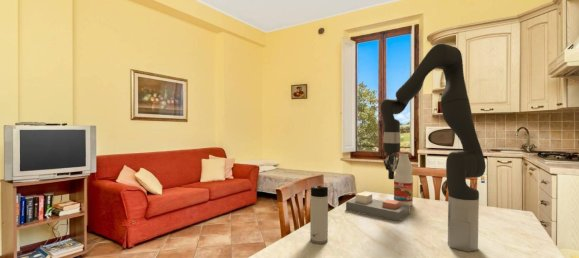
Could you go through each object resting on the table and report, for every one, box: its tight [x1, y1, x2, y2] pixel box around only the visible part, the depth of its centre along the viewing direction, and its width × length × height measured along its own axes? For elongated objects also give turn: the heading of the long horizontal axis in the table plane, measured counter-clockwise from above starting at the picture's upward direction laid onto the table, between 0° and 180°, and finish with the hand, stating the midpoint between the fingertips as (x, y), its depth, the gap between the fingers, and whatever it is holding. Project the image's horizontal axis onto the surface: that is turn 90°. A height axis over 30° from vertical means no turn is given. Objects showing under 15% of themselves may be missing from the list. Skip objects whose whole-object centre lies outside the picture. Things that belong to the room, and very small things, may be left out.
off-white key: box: [355, 191, 373, 204], centre depth 149 cm, size 6×6×4 cm
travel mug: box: [309, 186, 329, 245], centre depth 109 cm, size 6×7×20 cm
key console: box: [345, 197, 411, 222], centre depth 145 cm, size 14×26×4 cm, turn 49°
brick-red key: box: [382, 199, 400, 209], centre depth 140 cm, size 6×6×4 cm
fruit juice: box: [393, 150, 414, 207], centre depth 159 cm, size 9×9×28 cm
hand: (391, 178), depth 140 cm, fingers closed
